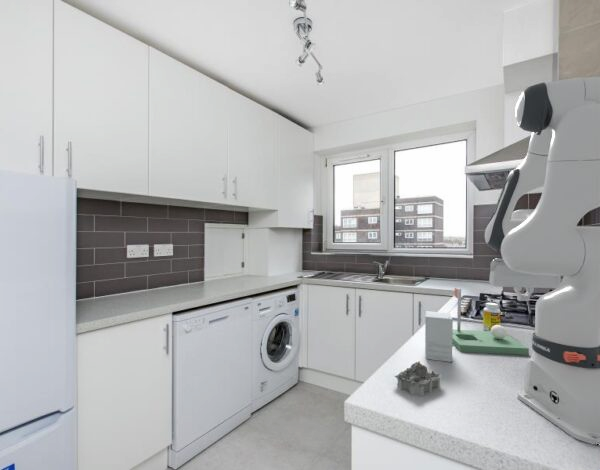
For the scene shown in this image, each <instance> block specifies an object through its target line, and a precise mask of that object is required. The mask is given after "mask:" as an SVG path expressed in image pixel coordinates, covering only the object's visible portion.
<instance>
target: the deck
mask: <svg viewBox="0 0 600 470" xmlns="http://www.w3.org/2000/svg"><path fill="white" fill-rule="evenodd" d="M454 297H455V298H457V323H456V325H457V326H456V329H453V331H452V346H454V347H455V348H456V350H458V351H459V352H463V353H464V352H466V353H468V352H470V353H485V354H500V355H501V354H504V355H520V356H521V355H522V356H523V355H524V356H529V355H530V353H529V351H530V350H529V349H530V348H529V347H527V346H526V345H524V344H523V343H520V342H519V341H518V340H517V339H514V338H513V337H512V336H510V335H508V334H506V336H505V338H503V339H496V338H495V337H493V336H492V334H491V331H486V330H471V329H461V319H462V317H461V314H462V288H457V287H454Z"/></svg>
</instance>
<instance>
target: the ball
mask: <svg viewBox="0 0 600 470" xmlns="http://www.w3.org/2000/svg"><path fill="white" fill-rule="evenodd" d="M491 334H492V336H493V337H495V338H496V339H503V338H505V336H506V334H507V330H506V328H505V327H504V326H502V325H501V324H500V325H495V326H493V327H492V328H491ZM507 335H508V334H507Z"/></svg>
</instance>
